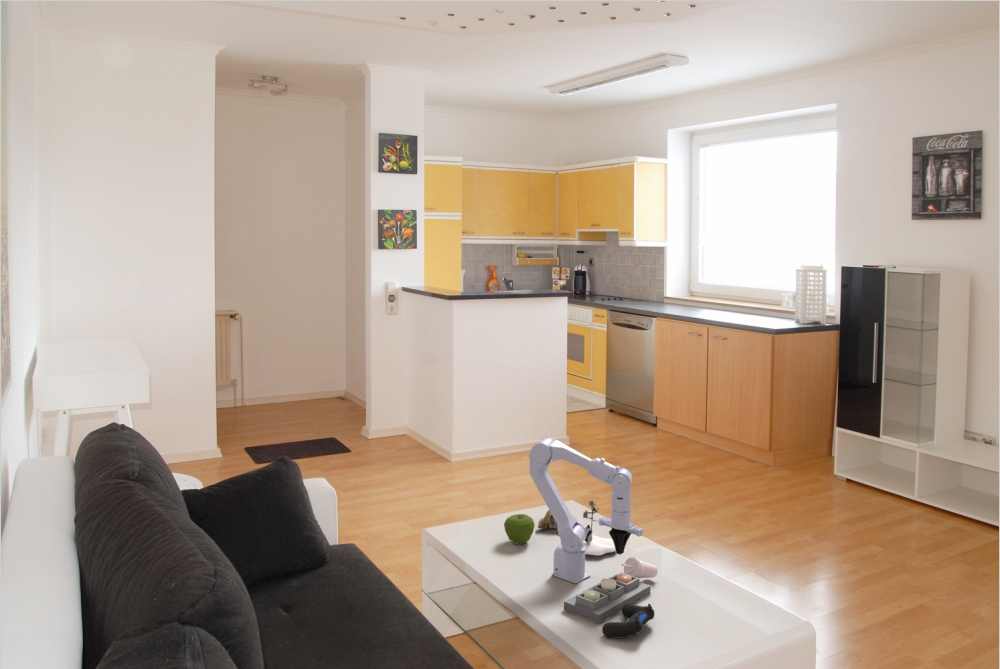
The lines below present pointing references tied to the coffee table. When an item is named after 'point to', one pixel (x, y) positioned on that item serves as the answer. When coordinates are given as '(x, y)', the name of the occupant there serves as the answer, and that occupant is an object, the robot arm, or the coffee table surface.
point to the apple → (519, 528)
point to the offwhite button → (608, 584)
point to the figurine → (596, 537)
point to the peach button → (624, 578)
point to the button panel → (607, 600)
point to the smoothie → (639, 568)
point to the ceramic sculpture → (548, 521)
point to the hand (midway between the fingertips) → (619, 553)
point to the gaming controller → (629, 621)
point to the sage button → (592, 595)
